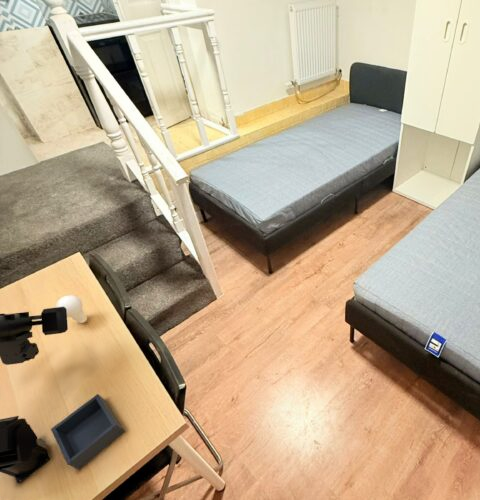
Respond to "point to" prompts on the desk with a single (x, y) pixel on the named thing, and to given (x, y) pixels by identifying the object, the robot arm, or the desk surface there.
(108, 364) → the desk surface
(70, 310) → the lightbulb
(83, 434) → the bin
